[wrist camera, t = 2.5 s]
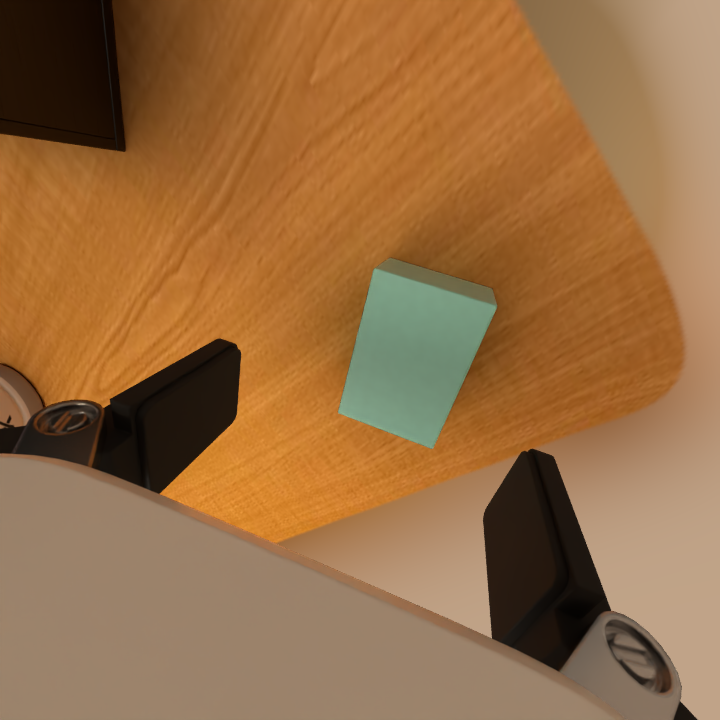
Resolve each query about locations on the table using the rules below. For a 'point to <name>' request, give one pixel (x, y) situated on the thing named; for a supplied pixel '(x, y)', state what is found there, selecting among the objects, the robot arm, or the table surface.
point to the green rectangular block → (414, 349)
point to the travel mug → (16, 399)
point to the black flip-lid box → (60, 72)
